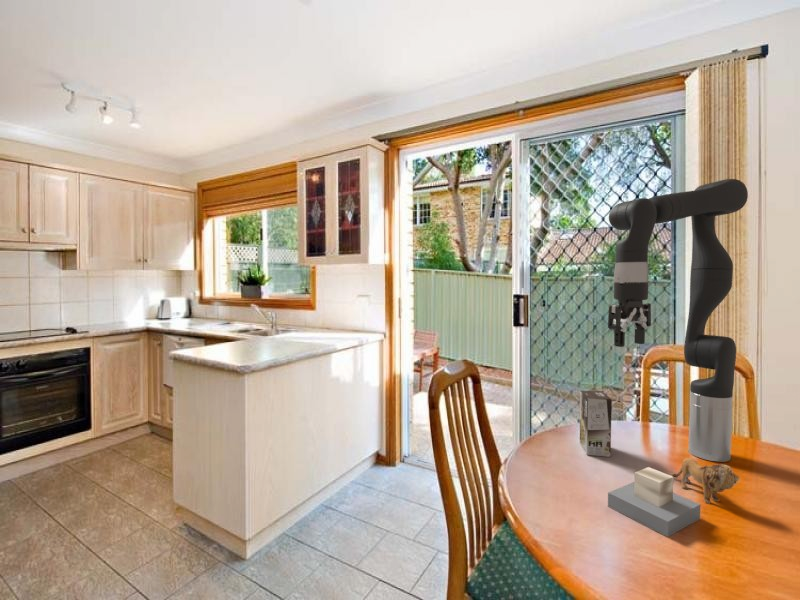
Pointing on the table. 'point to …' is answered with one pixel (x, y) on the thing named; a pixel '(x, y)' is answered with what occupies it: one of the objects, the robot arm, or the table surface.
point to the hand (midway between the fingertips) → (629, 345)
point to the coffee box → (595, 423)
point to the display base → (655, 510)
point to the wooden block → (653, 486)
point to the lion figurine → (708, 477)
